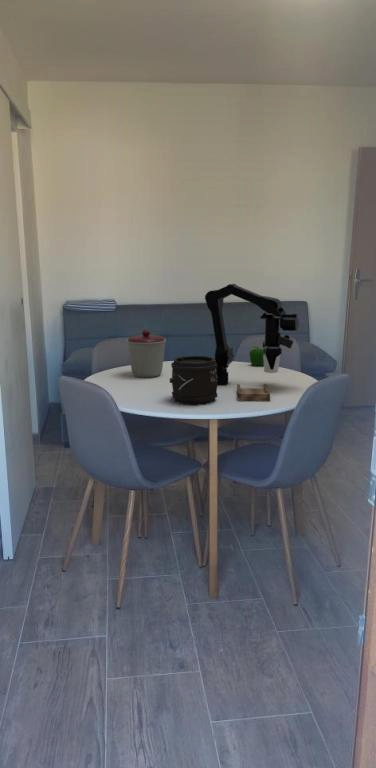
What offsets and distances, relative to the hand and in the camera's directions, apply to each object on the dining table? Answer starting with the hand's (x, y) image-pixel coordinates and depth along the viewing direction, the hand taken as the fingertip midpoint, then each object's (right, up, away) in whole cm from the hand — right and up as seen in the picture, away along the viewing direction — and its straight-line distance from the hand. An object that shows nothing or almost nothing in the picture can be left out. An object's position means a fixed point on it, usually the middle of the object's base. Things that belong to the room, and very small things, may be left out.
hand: (271, 367), depth 242 cm
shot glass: (0, -2, 0) cm, 2 cm away
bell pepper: (0, +2, +49) cm, 49 cm away
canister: (-53, -3, +28) cm, 60 cm away
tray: (-9, -11, -11) cm, 18 cm away
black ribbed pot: (-32, -13, -16) cm, 38 cm away
